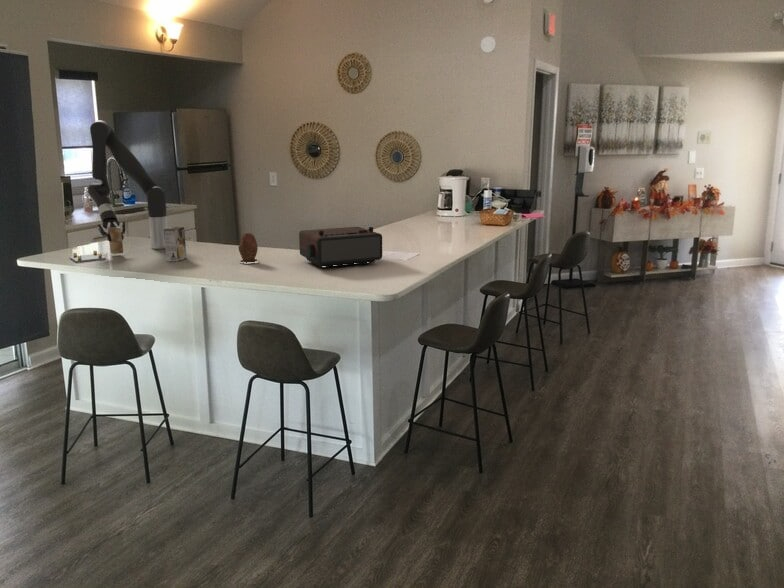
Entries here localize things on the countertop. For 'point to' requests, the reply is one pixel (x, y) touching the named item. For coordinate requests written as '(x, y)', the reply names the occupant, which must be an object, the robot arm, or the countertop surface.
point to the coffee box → (175, 243)
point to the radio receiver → (340, 245)
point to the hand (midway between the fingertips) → (116, 240)
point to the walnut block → (115, 240)
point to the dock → (87, 257)
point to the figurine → (248, 248)
